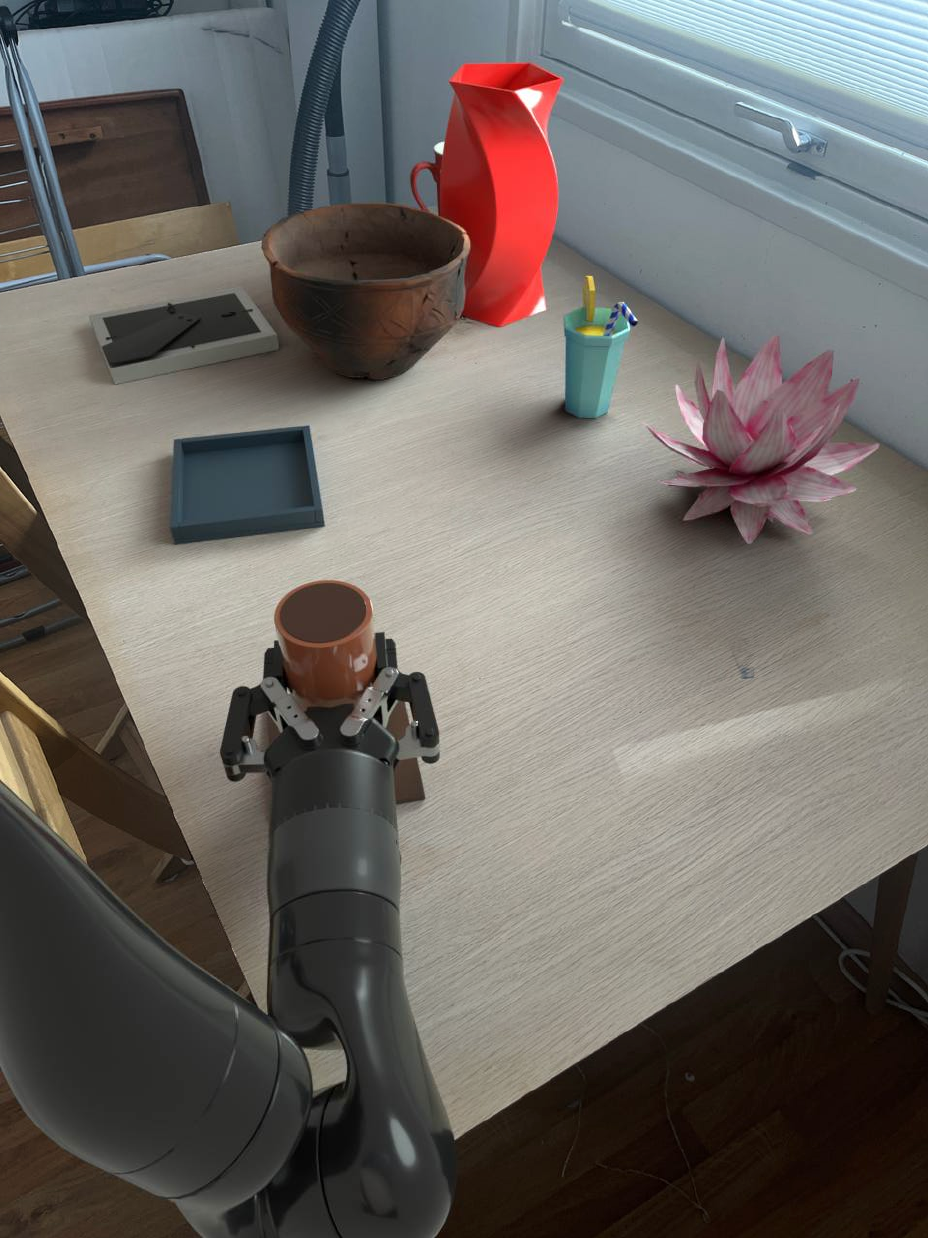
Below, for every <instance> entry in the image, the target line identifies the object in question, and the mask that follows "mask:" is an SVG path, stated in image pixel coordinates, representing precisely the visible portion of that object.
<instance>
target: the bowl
mask: <svg viewBox="0 0 928 1238" xmlns="http://www.w3.org/2000/svg"><path fill="white" fill-rule="evenodd" d="M260 245H261V247H260V248H261V250H262V253H263V256H264V258H265V260H266V261H267V263H268V264H269V276H270V277H269V278H270V282H271V296H272V297H271V298H272V301H273V304H274V306H275V308H276V310H277V312H278V314H279V316H280V317H281V319H283V321H284V323H285V324H286V325H287V326H288V327H289V329H290V330H291V331H292V332H293V333H295V335H297V336H298V338H300V339H301V340H302V341H303V342H304V343H305V344H306V345H307V346H308V347H309V348H310V349H311V350H312V351H313V352H314V353H315V354H316V355H317V356H318V357H319V358H320V360H322V362H323V363H324V364H325V366H326V367H327V368H328V369H329V370H331V371H332V372H334V373H337V374H338V375H342V376H344V377H347V378H365V377H366V378H368V379H369V380H377V381H380V380H383V379H388V378H391V377H395V376H398V375H401V374H402V373H404V372H407V371H408V370H410V369H411V368H412V367H414V366H415V365H416V364H417V363H418V362H419V361H420V360H421V358H423V357H424V356H425V355H426V354H427V353H428V352H430V351H431V349H432V348H433V347H435V346H436V344H438V342H439V341H440V340H441V339H442V338H444V336H446V334H447V333H448V332H449V331H450V330H451V329H452V328H453V327H454V326H455V325H456V324H457V323H458V321H459V320H460V318H461V316H462V315H461V313H462V311H463V310H464V304H465V293H466V291H465V285H464V274H465V266H466V260H467V257H468V254H469V251H470V239H469V237H468V235H467V233H466V231H465V230H464V229H463V228H461V227H460V226H459V225H457V224H454V223H453V222H452V221H450V220H447V219H445V218H443V217H440V216H438V214H435V213H433V212H431V211H430V212H428V211H425V210H421V208H418V207H413V206H407V205H403V204H395V203H387V202H346V203H339V204H333V205H327V206H321V207H317V208H312V209H307V210H306V209H305V210H302V211H301V212H297V213H294V214H293V213H292V214H291V215H288V216H286V217H283V218H281V219H280V220H278V222H276V223H274V224H273V225H272V226H270V227H269V228H268V230H266V231H265V233H264V234H263V236H262V237H261V243H260Z"/></svg>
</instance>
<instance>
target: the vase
mask: <svg viewBox="0 0 928 1238" xmlns="http://www.w3.org/2000/svg"><path fill="white" fill-rule="evenodd" d="M447 81H448V83H449V84H450V86H451V88H452V89H453V91H454V94H453V97H452V101H451V102H452V103H451V106H450V112H449V115H448V120H447V126H446V130H445V137H444V141H445V142H444V141H443V142H444V149H443V156H442V165H441V177H440V217H443V218H445V219H447V220H450V221H452V222H453V223H454V224H457V225H459V226H460V227H461V228H463V229H464V230H465V231H466V233H467V235H468V237H469V239H470V251H469V254H468V257H467V260H466V266H465V274H464V285H465V291H466V293H465V304H464V310H463V311H462V313H461V316H462V317H466V318H469V319H473V320H475V321H479V322H482V323H485V324H489V325H491V326H495V327H498V328H500V327H504V326H506V325H509V324H511V323H514V322H517V321H520V320H522V319H525V318H528V317H531V316H533V315H536V314H539V313H542V312H544V311H547V304H546V297H545V292H544V284H543V277H542V269H541V268H542V264H543V262H544V260H545V257H546V255H547V253H548V250H549V247H550V244H551V241H552V238H553V234H554V230H555V226H556V221H557V216H558V207H559V182H558V173H557V169H556V164H555V160H554V156H553V153H552V150H551V146H550V143H549V137H548V136H549V135H548V123H549V118H550V115H551V111H552V109H553V106H554V103H555V100H556V98H557V95H558V94H559V90H560V88H561V86H562V83H563V81H564V78H563V77H561V76H559V75H557V74H554V73H553V72H551V71H549V70H547V69H545V68H544V67H541V66H539V65H537V64H536V63H534V62H479V63H478V62H473V63H471V62H470V63H469V62H468V63H463V64H462V65H460V67H459V68H458V69H457V71H455V72H454V74H453V75H452V76H451V77H450V78H449V79H448V80H447Z"/></svg>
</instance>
